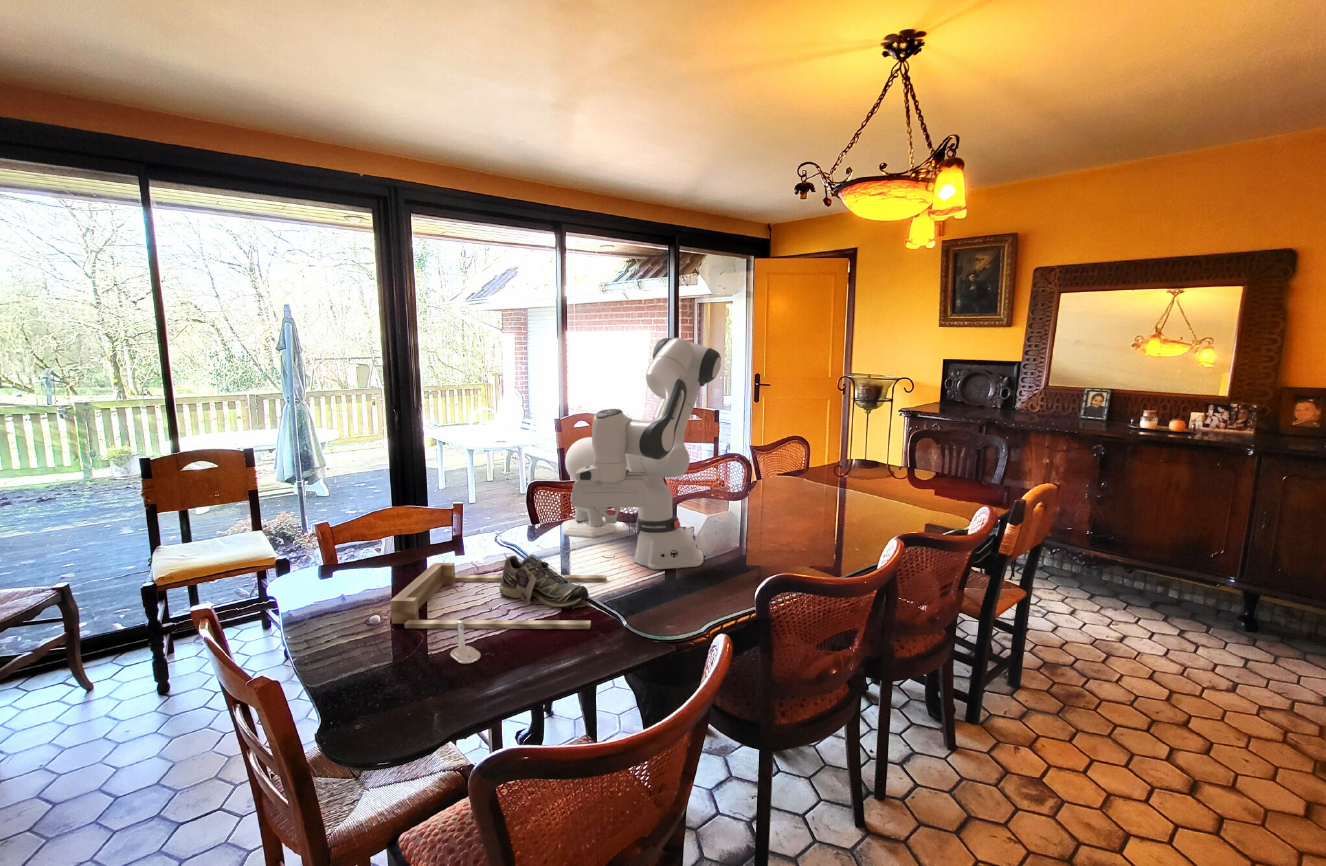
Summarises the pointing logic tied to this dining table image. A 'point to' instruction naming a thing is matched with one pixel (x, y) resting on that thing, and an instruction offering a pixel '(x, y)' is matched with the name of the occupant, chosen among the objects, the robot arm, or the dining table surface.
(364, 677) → the dining table surface
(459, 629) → the white stemmed disc stand
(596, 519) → the white toy figurine
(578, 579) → the lane strip right
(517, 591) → the running shoe
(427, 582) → the bar
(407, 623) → the strip
